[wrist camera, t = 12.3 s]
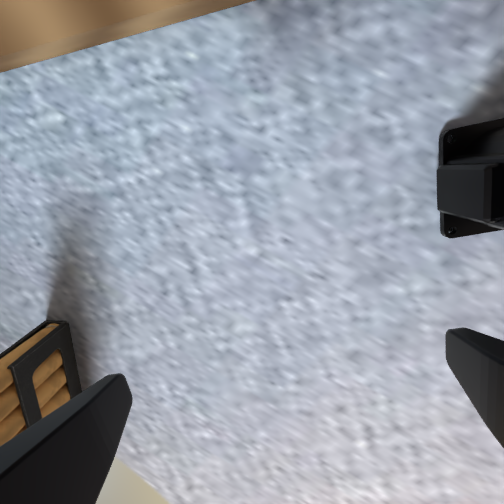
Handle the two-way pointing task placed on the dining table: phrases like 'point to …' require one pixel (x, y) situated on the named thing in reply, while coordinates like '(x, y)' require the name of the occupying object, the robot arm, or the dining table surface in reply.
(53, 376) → the ammunition clip
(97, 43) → the board
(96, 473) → the robot arm
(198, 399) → the dining table surface
